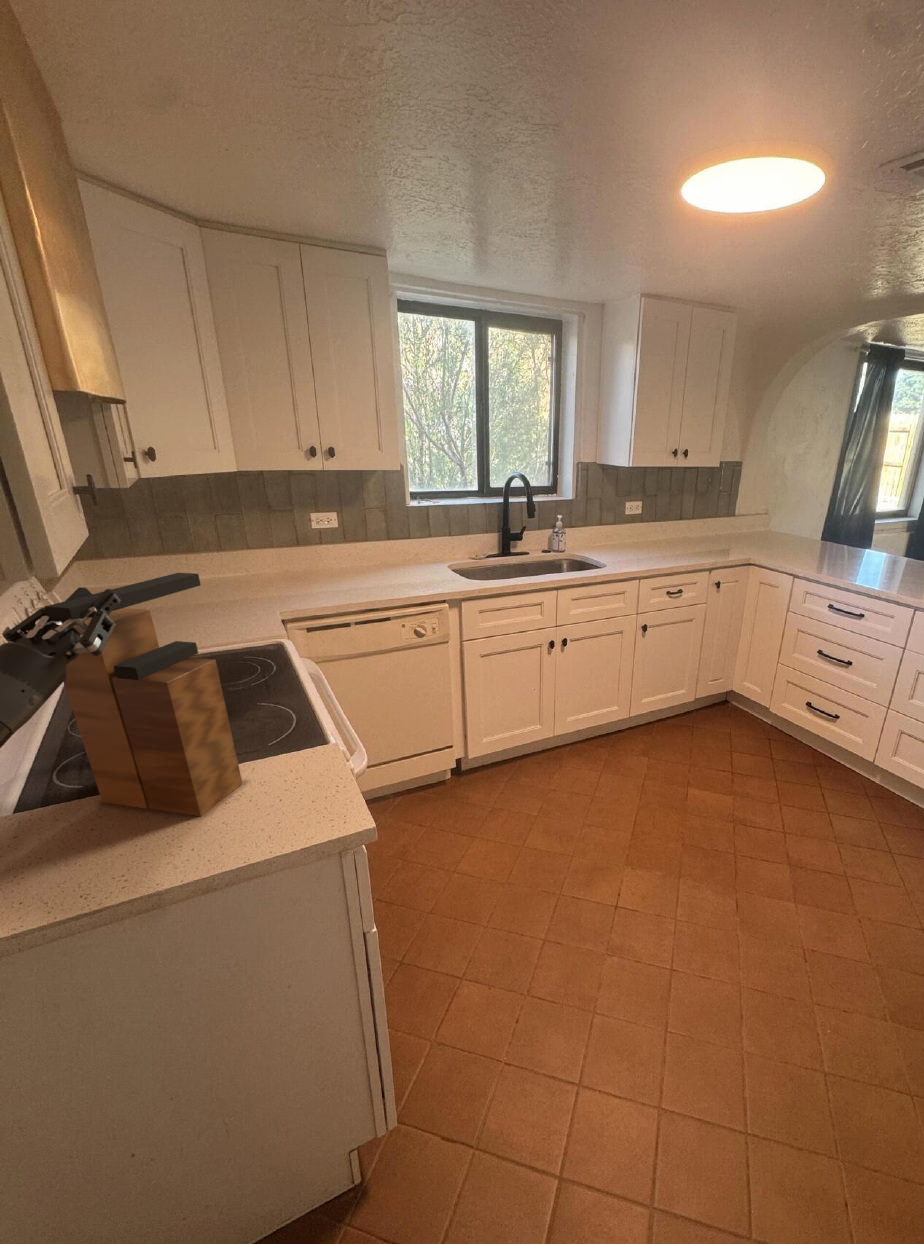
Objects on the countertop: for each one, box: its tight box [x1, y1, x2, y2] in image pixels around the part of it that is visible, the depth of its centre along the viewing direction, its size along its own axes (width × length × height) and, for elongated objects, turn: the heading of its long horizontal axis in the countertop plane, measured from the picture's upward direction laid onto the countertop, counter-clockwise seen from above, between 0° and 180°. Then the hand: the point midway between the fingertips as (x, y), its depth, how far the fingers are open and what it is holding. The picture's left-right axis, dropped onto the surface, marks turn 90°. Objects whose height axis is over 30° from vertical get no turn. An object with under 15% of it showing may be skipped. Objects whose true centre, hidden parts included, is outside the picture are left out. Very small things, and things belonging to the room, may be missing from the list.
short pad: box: [113, 640, 199, 680], centre depth 92 cm, size 12×4×2 cm, turn 169°
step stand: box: [63, 607, 243, 817], centre depth 95 cm, size 10×20×32 cm, turn 79°
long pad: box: [44, 572, 201, 622], centre depth 85 cm, size 22×4×2 cm, turn 168°
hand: (100, 593), depth 80 cm, fingers closed on long pad, 4 cm apart
